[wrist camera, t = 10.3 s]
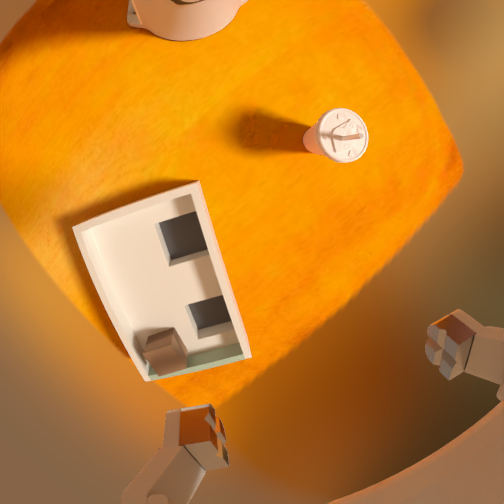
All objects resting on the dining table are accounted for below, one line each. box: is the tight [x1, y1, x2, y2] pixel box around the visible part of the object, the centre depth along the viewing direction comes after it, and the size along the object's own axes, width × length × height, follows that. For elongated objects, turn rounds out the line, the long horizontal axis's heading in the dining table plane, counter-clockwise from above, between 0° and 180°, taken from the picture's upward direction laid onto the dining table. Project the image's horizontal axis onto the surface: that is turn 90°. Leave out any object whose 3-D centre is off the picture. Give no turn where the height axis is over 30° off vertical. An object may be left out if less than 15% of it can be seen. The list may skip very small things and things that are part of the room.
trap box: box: [72, 181, 252, 381], centre depth 38 cm, size 25×17×6 cm
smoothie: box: [303, 108, 368, 163], centre depth 31 cm, size 6×6×14 cm
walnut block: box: [143, 328, 188, 377], centre depth 38 cm, size 4×4×4 cm
